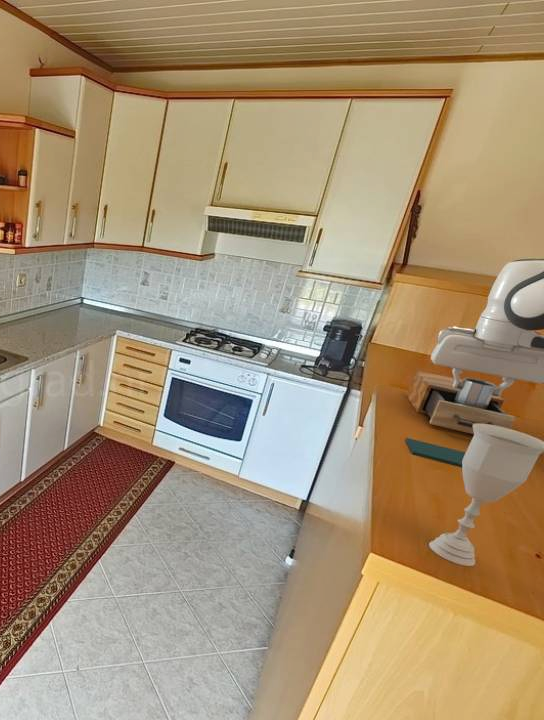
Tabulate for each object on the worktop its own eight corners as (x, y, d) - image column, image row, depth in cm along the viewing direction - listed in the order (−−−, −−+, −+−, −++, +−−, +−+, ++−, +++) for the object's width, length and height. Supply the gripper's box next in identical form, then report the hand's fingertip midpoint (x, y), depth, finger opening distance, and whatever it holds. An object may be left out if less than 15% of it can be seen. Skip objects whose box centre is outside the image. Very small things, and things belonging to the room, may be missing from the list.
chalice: (420, 553, 66) (476, 434, 60) (417, 530, 71) (468, 418, 65) (490, 579, 62) (557, 455, 56) (481, 552, 68) (542, 436, 62)
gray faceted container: (480, 407, 115) (491, 381, 113) (487, 415, 110) (499, 388, 108) (450, 401, 117) (460, 376, 115) (456, 408, 112) (467, 382, 110)
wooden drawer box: (512, 450, 103) (524, 425, 101) (435, 431, 108) (445, 407, 106) (485, 421, 119) (495, 399, 117) (419, 406, 124) (427, 385, 122)
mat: (488, 460, 98) (489, 458, 98) (501, 477, 92) (502, 474, 92) (405, 440, 104) (406, 437, 104) (412, 454, 98) (413, 451, 97)
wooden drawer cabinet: (490, 429, 116) (504, 400, 114) (416, 412, 123) (428, 384, 120) (472, 411, 129) (485, 384, 126) (407, 396, 135) (417, 370, 132)
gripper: (446, 326, 110) (423, 384, 114) (568, 345, 101) (538, 406, 105) (439, 322, 115) (418, 377, 119) (555, 339, 106) (527, 398, 111)
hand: (475, 391), depth 112 cm, fingers closed on gray faceted container, 5 cm apart
